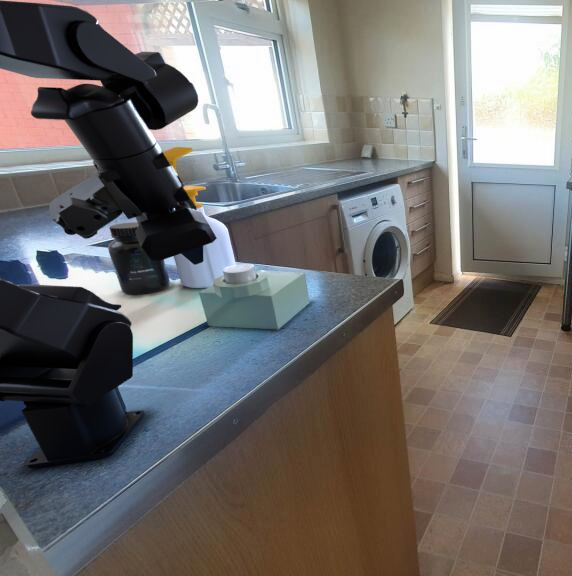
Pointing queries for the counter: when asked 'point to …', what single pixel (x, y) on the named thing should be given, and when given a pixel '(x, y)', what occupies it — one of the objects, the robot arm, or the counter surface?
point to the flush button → (239, 273)
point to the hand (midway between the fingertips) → (198, 262)
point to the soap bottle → (213, 253)
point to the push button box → (256, 300)
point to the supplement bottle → (135, 263)
